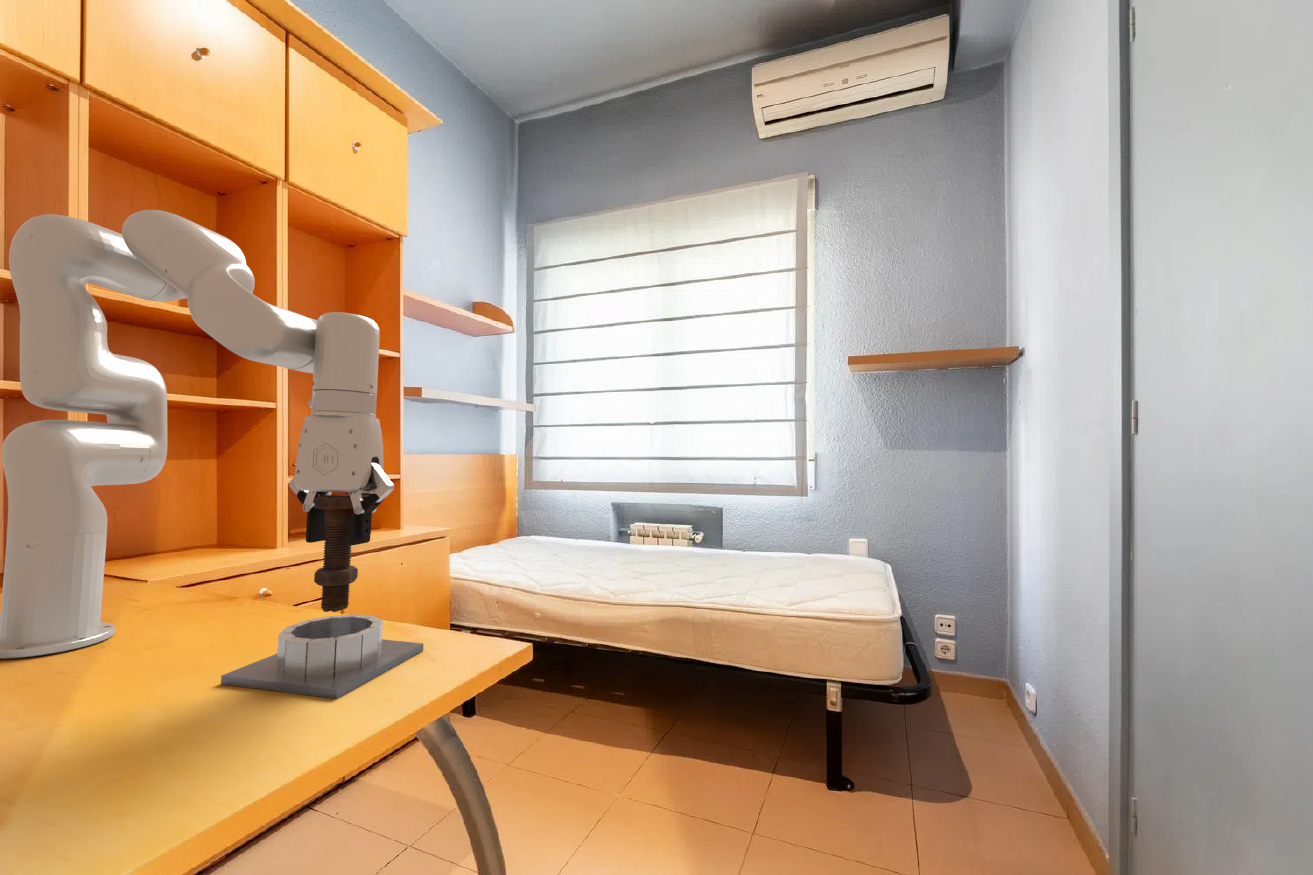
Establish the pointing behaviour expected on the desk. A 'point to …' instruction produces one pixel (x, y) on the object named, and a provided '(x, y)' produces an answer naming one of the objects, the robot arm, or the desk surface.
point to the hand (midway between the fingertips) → (338, 541)
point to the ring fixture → (325, 657)
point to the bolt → (336, 552)
